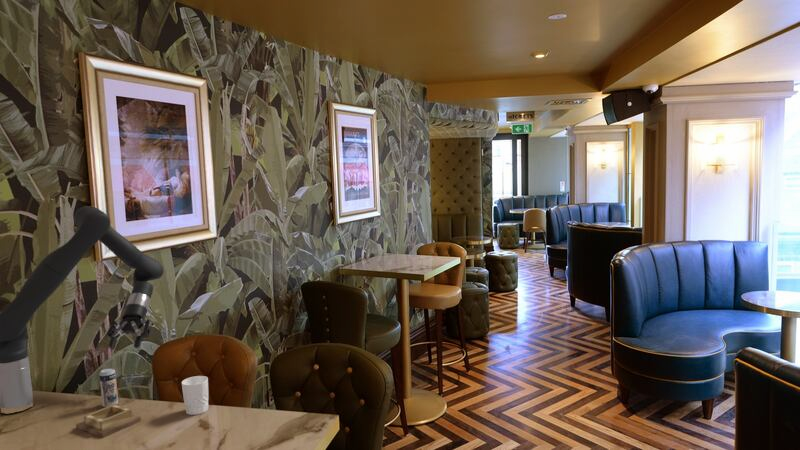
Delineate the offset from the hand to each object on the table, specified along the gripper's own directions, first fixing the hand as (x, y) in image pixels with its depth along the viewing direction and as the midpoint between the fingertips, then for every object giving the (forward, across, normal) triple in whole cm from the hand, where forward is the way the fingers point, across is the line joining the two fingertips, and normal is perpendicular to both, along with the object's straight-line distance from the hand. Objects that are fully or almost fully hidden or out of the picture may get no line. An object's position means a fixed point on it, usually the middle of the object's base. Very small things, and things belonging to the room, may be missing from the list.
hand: (123, 347), depth 193 cm
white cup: (+24, +32, -2) cm, 40 cm away
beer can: (+20, 0, +3) cm, 20 cm away
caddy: (+30, +8, -7) cm, 32 cm away
